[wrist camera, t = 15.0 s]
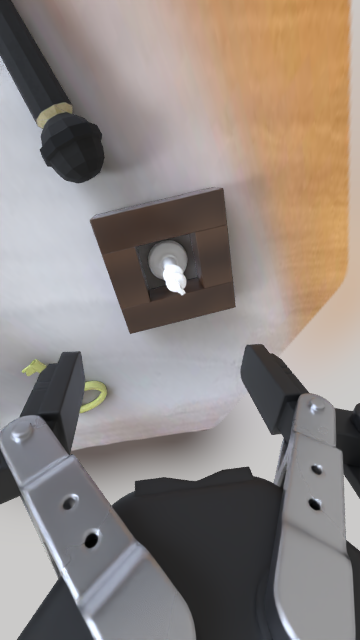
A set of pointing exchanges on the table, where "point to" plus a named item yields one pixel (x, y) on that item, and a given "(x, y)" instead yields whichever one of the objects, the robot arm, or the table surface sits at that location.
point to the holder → (159, 224)
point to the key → (90, 385)
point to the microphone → (49, 103)
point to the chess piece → (169, 264)
